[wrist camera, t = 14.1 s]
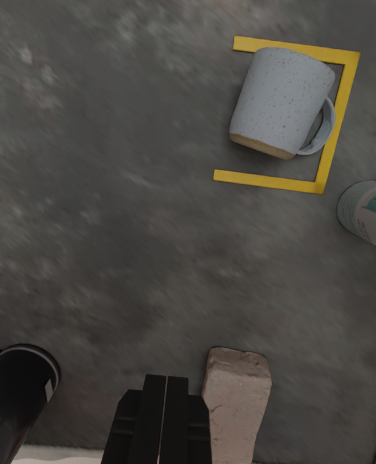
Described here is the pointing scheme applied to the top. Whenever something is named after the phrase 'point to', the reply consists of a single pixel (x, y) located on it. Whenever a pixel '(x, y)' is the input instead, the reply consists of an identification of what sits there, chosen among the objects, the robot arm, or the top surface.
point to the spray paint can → (359, 210)
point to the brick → (235, 402)
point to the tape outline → (350, 65)
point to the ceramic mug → (283, 103)
